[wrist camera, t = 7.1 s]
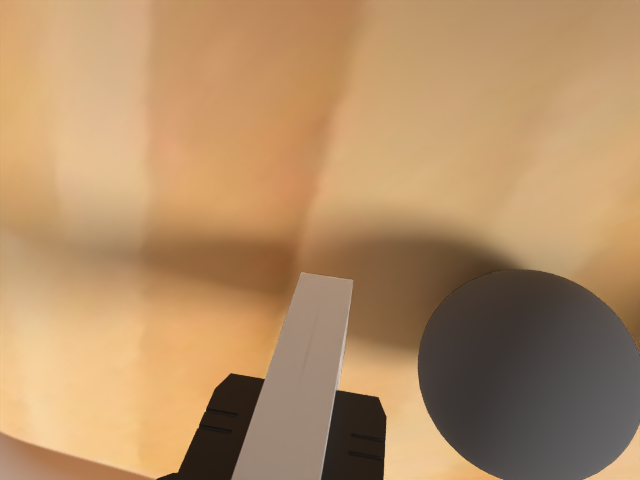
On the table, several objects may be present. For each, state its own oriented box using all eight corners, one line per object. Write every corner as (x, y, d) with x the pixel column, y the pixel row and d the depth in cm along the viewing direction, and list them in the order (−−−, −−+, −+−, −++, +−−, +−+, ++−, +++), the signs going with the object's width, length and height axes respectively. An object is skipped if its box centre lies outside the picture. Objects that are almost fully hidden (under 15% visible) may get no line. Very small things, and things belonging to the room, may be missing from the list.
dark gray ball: (698, 438, 8) (690, 283, 12) (407, 303, 10) (481, 210, 14) (574, 579, 11) (600, 418, 15) (368, 451, 13) (439, 340, 17)
